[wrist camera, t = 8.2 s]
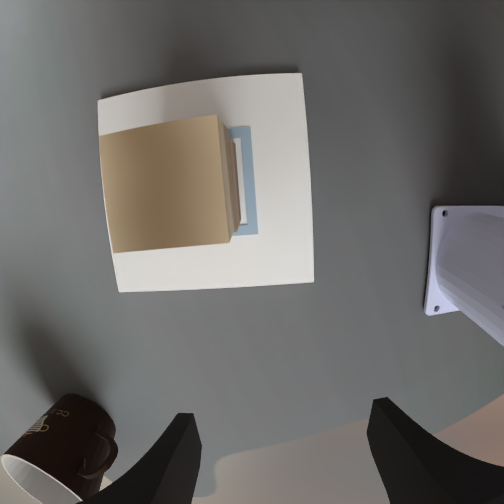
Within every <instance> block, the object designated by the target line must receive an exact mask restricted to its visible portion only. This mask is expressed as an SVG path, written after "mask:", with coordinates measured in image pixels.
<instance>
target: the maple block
mask: <svg viewBox="0 0 504 504" xmlns="http://www.w3.org/2000/svg"><path fill="white" fill-rule="evenodd" d="M99 146H100V158H101V169H102V178H103V187H104V196H105V203H106V211H107V217H108V224H109V230H110V237H111V242H112V248H113V253H123V252H134V251H145V250H156V249H167V248H178V247H189V246H201V245H212V244H224V243H230V240H231V237H232V235H233V232H234V230H235V227H236V225H237V222H236V212H235V202H234V192H233V181H232V170H231V160H230V149H229V138H228V129H227V128H226V126H225V125H224V123H223V122H222V121H221V119H220V118H219V117H218V115H210V116H202V117H195V118H188V119H182V120H175V121H169V122H164V123H158V124H153V125H147V126H142V127H137V128H133V129H128V130H123V131H119V132H114V133H110V134H106V135H102V136H99Z"/></svg>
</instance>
